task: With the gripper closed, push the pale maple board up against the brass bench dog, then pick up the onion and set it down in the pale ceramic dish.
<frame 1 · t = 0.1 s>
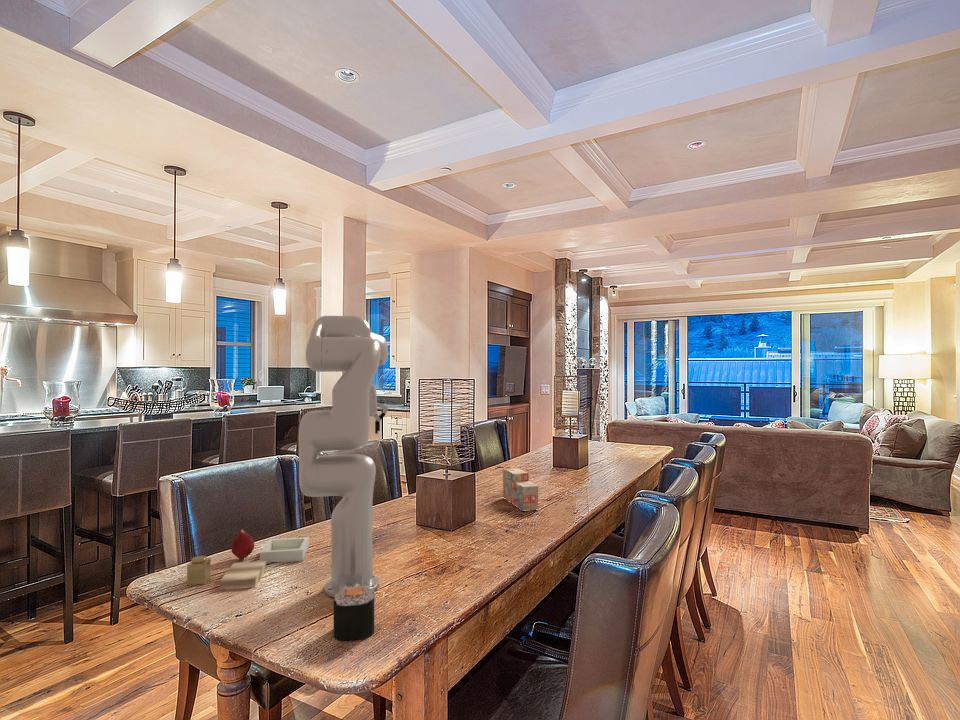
hand: (361, 433, 168), 31 cm above the table, tool pointing down, fingers open, 9 cm apart
stack of blocks: (519, 505, 198), on the table
bench dog: (198, 581, 128), on the table
sushi: (355, 632, 103), on the table
maple board: (244, 580, 130), on the table
ceramic dish: (285, 555, 146), on the table
onion: (242, 560, 143), on the table
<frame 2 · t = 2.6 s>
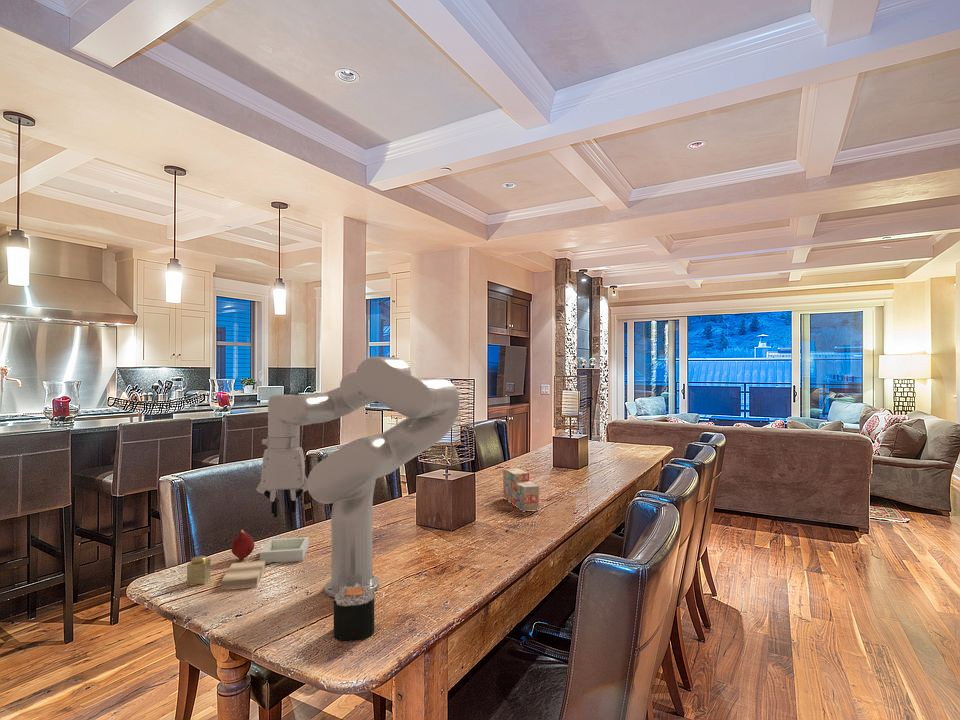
hand: (284, 515, 131), 15 cm above the table, tool pointing down, fingers open, 3 cm apart
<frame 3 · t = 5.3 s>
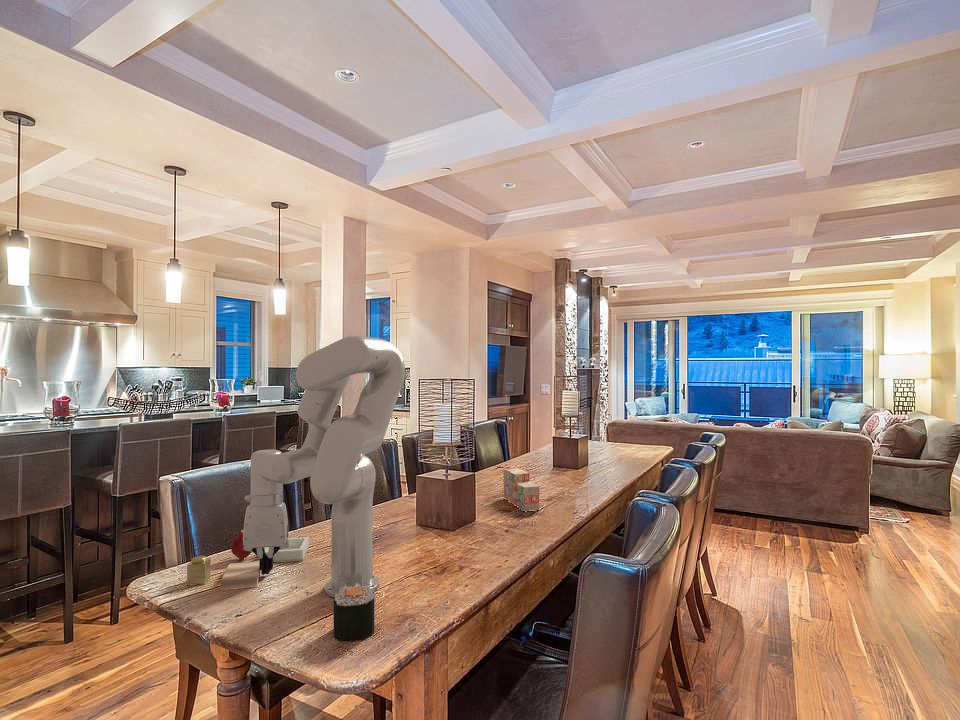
hand: (266, 572, 131), 1 cm above the table, tool pointing down, fingers closed
maple board: (242, 580, 129), on the table, touching gripper
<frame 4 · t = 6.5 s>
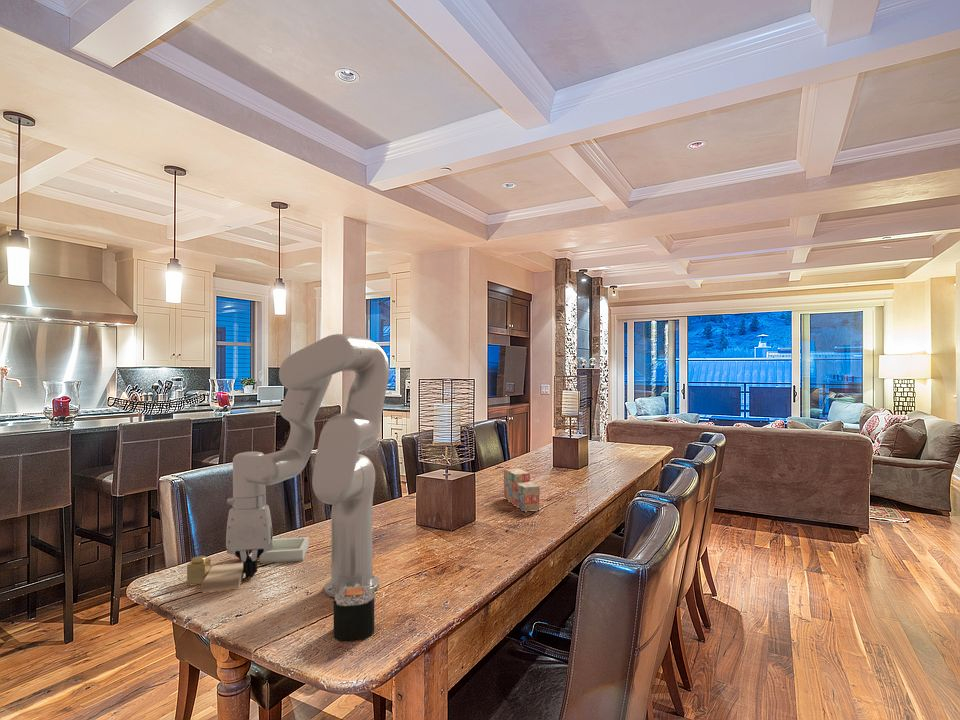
hand: (250, 575, 130), 1 cm above the table, tool pointing down, fingers closed
maple board: (225, 582, 128), on the table, touching gripper
everything else where it was.
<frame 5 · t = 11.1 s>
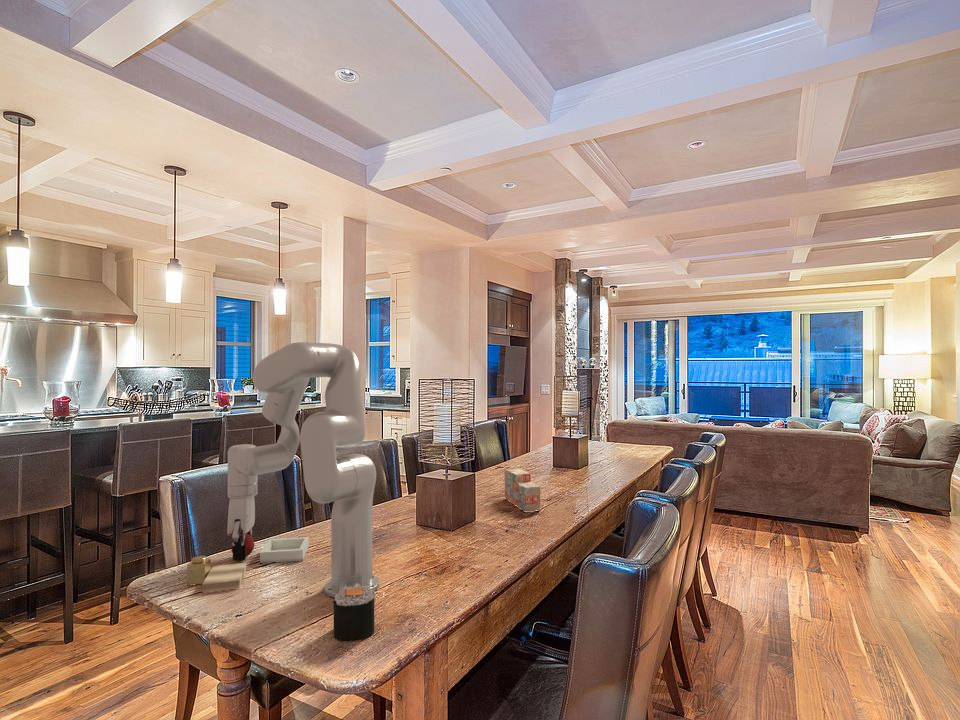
hand: (242, 555, 143), 1 cm above the table, tool pointing down, fingers closed on onion, 5 cm apart
maple board: (225, 583, 128), on the table
onion: (242, 560, 143), on the table, touching gripper
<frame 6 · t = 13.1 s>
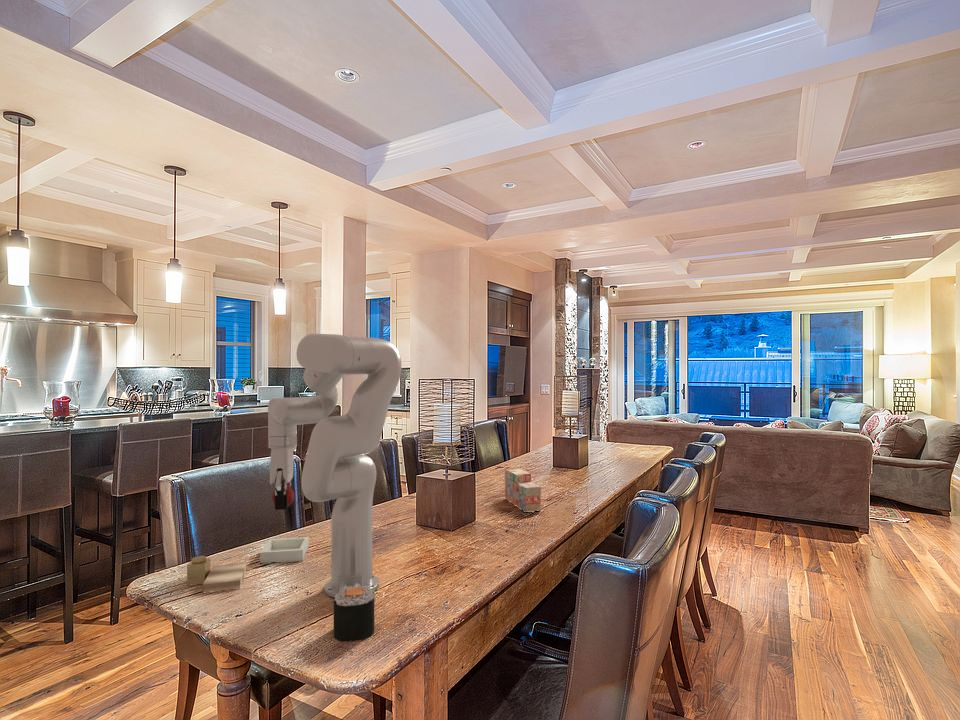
hand: (283, 505, 145), 14 cm above the table, tool pointing down, fingers closed on onion, 5 cm apart
onion: (283, 510, 145), point 13 cm above the table, touching gripper
when the fingers open (4 cm above the table, at t = 15.6 s): onion drops 2 cm, resting on ceramic dish.
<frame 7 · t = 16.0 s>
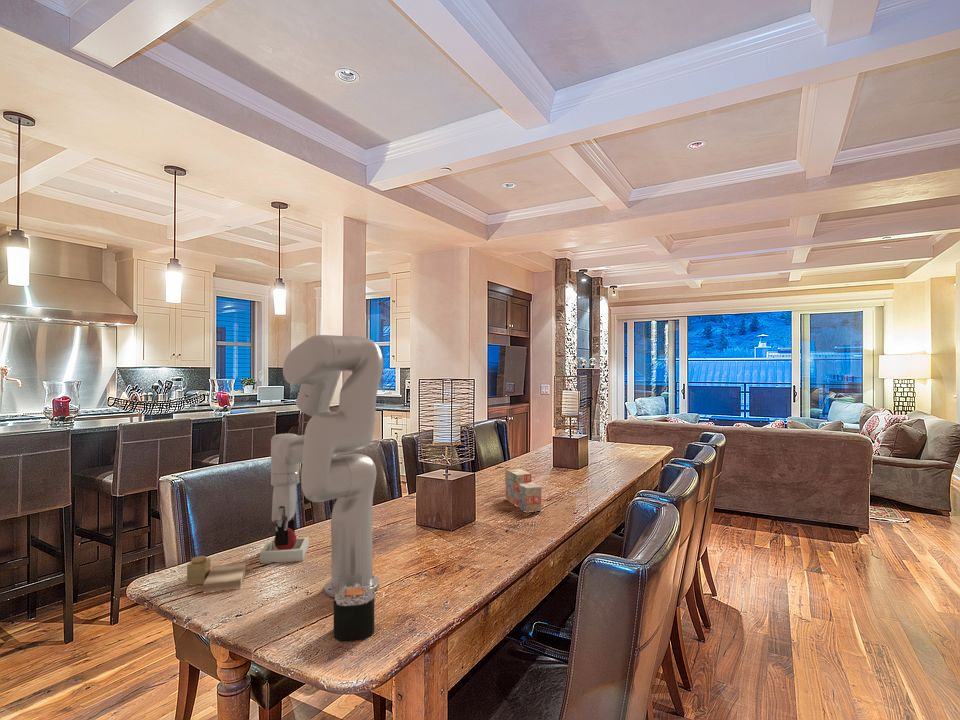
hand: (285, 539, 146), 4 cm above the table, tool pointing down, fingers open, 9 cm apart
onion: (285, 553, 145), point 1 cm above the table, touching ceramic dish
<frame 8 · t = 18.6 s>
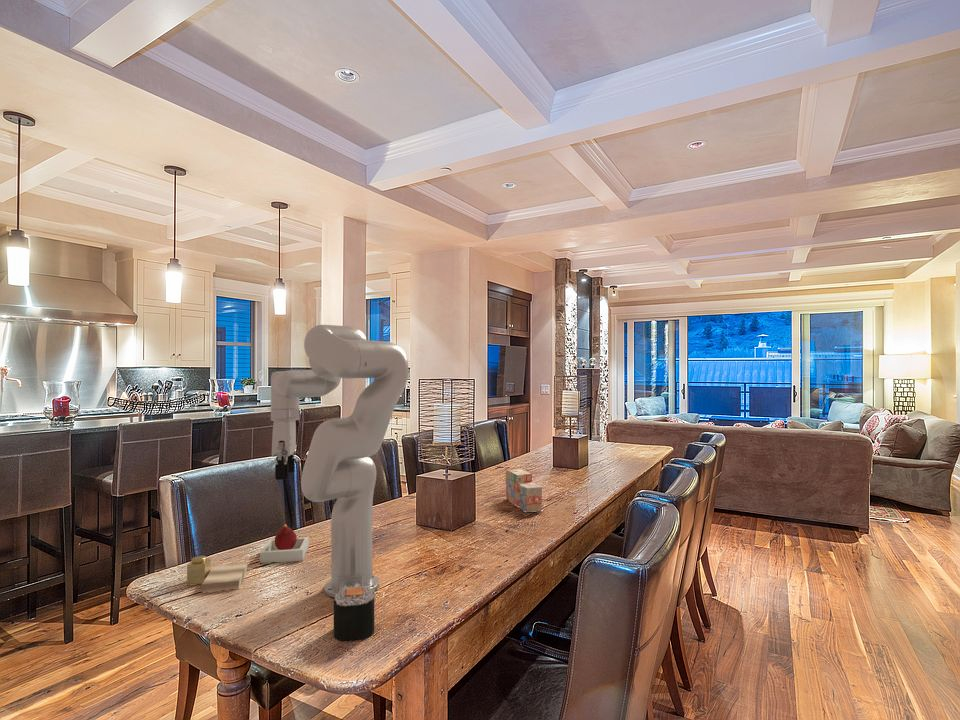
hand: (285, 475, 146), 22 cm above the table, tool pointing down, fingers open, 9 cm apart
at the end: maple board 1.1 cm from the target spot, on the table; onion 0.1 cm from the ceramic dish (horizontally); the gripper is holding nothing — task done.
